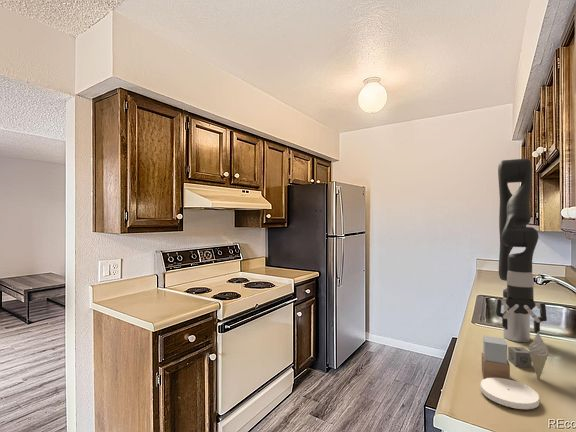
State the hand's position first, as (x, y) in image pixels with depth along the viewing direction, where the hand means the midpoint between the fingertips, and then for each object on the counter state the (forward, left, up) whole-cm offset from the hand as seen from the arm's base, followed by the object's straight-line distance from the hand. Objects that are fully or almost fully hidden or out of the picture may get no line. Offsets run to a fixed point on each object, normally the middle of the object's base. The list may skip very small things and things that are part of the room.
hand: (520, 330), depth 113 cm
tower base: (+14, -9, -12) cm, 20 cm away
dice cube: (-1, 0, -12) cm, 12 cm away
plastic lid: (+26, -7, -12) cm, 29 cm away
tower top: (+14, -9, -6) cm, 18 cm away
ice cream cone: (+9, +3, -12) cm, 16 cm away
